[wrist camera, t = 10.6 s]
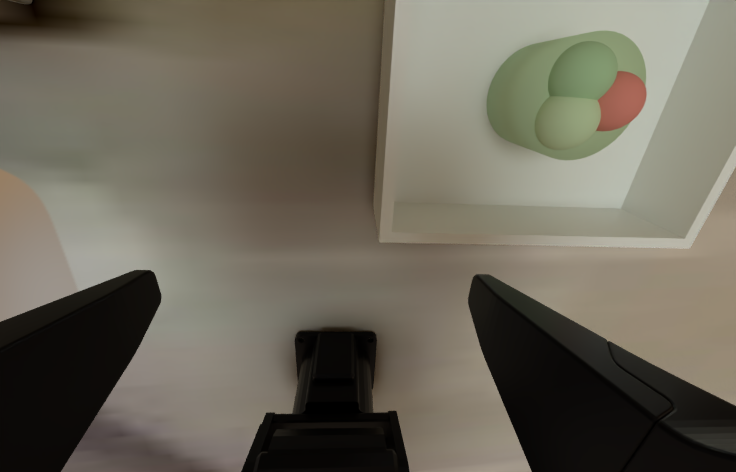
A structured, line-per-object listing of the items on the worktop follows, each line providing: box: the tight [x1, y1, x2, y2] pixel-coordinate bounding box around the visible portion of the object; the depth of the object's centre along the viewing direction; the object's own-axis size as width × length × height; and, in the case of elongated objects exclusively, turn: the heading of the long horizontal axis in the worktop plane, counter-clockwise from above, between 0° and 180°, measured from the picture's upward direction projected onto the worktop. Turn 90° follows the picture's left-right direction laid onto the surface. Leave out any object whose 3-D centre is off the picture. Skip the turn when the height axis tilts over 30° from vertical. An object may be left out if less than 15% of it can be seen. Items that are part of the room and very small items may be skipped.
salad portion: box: [487, 31, 647, 160], centre depth 15 cm, size 5×5×6 cm
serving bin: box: [373, 0, 736, 249], centre depth 16 cm, size 14×17×5 cm
